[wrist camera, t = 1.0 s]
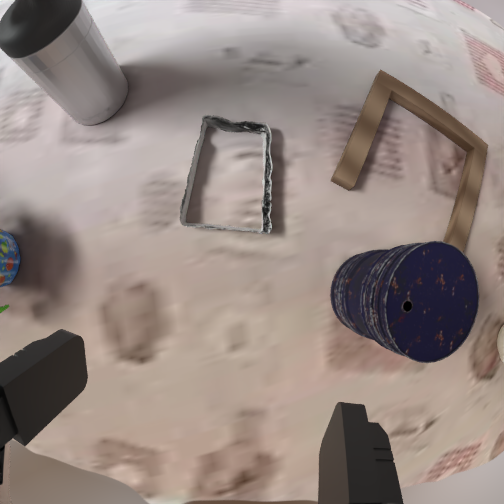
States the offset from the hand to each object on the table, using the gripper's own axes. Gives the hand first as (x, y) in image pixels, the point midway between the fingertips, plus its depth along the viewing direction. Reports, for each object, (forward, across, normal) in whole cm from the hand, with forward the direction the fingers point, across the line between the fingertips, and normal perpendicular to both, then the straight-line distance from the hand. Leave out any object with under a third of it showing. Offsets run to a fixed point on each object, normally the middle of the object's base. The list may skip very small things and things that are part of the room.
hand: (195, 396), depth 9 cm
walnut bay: (+36, -17, -13) cm, 41 cm away
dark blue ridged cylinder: (+30, -12, +5) cm, 32 cm away
